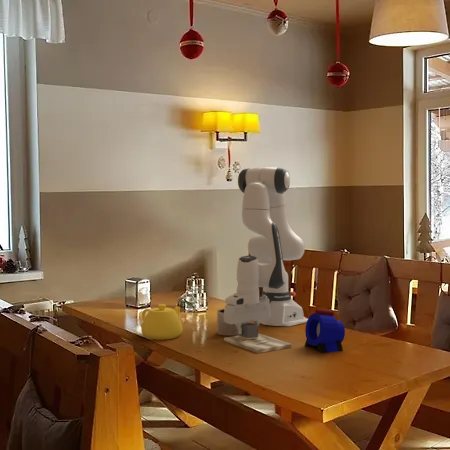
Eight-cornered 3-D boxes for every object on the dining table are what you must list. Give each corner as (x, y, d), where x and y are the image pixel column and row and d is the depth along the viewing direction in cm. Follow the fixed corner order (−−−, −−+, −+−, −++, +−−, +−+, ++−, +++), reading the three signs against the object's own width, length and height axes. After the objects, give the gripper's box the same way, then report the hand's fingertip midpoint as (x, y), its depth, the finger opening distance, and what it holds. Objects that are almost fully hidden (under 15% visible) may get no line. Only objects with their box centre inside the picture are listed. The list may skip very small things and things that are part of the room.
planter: (249, 333, 265) (249, 310, 264) (231, 338, 257) (231, 314, 256) (229, 329, 272) (229, 306, 271) (211, 333, 264) (211, 310, 264)
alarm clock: (302, 345, 245) (303, 306, 244) (330, 342, 249) (331, 304, 248) (320, 353, 233) (320, 312, 232) (348, 350, 238) (349, 310, 237)
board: (257, 335, 261) (257, 332, 261) (291, 347, 242) (291, 344, 242) (223, 340, 252) (223, 337, 252) (257, 353, 234) (257, 350, 234)
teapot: (165, 342, 250) (165, 310, 249) (128, 336, 259) (128, 305, 259) (195, 332, 266) (195, 302, 266) (159, 327, 276) (158, 297, 276)
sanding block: (247, 334, 256) (247, 322, 256) (258, 338, 250) (258, 325, 250) (237, 336, 253) (237, 323, 253) (247, 339, 248) (247, 326, 247)
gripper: (264, 294, 259) (264, 328, 260) (221, 299, 248) (221, 334, 249) (274, 296, 254) (273, 331, 255) (230, 301, 243) (230, 337, 244)
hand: (247, 333), depth 252 cm, fingers closed on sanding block, 5 cm apart
